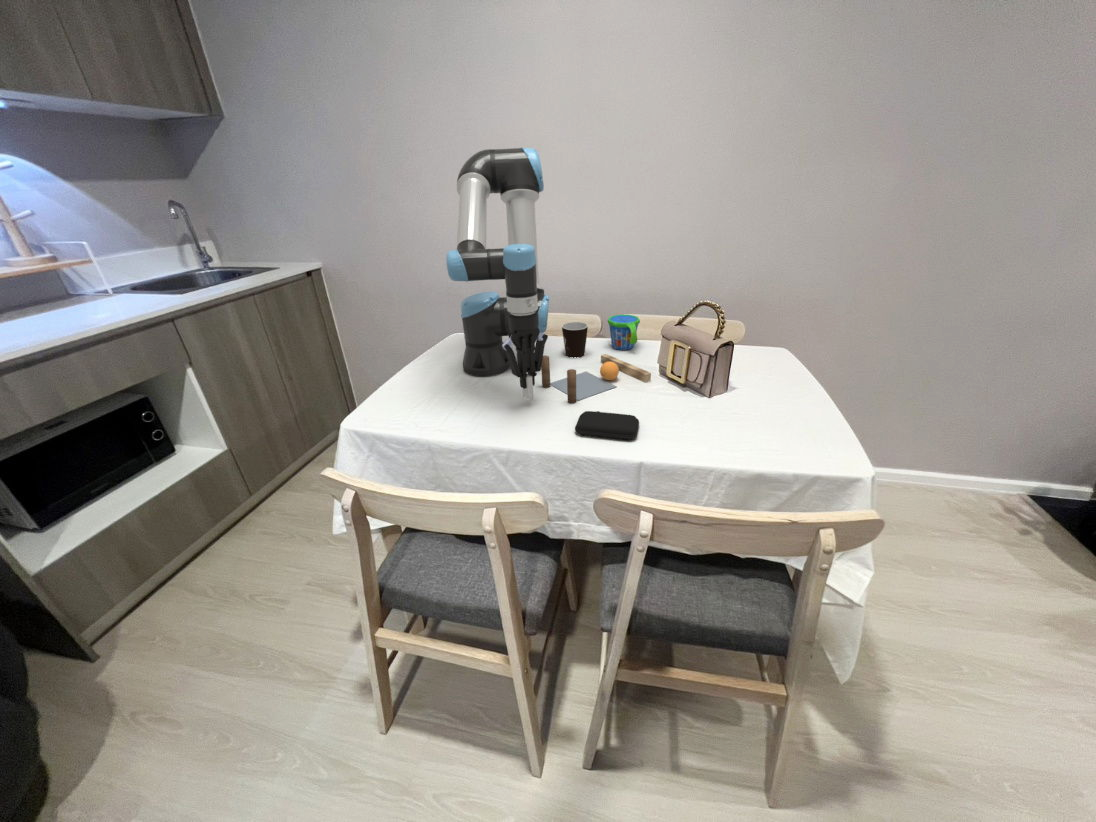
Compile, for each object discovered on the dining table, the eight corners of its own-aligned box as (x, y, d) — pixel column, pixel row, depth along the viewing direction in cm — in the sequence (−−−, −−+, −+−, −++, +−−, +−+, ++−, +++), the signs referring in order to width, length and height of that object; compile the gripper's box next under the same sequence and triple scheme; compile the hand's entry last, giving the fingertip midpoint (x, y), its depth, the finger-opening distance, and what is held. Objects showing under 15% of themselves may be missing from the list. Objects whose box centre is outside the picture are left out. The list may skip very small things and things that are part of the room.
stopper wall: (600, 362, 149) (601, 355, 147) (605, 360, 150) (605, 353, 148) (645, 382, 134) (646, 374, 133) (650, 380, 135) (651, 372, 134)
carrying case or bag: (639, 421, 115) (582, 416, 118) (640, 411, 113) (582, 405, 117) (635, 444, 106) (573, 437, 109) (636, 433, 104) (573, 426, 108)
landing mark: (548, 384, 135) (548, 383, 135) (586, 371, 142) (586, 371, 142) (578, 400, 125) (578, 400, 125) (616, 387, 132) (616, 386, 132)
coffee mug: (586, 359, 151) (586, 330, 146) (560, 358, 153) (559, 329, 148) (590, 347, 161) (590, 319, 156) (566, 346, 163) (565, 318, 158)
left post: (540, 386, 134) (539, 357, 130) (547, 383, 136) (546, 355, 131) (545, 388, 133) (543, 359, 128) (552, 386, 134) (550, 357, 130)
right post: (565, 401, 125) (565, 370, 121) (572, 398, 126) (572, 368, 122) (571, 404, 124) (570, 373, 119) (578, 401, 125) (578, 371, 120)
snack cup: (601, 341, 166) (601, 313, 161) (628, 338, 168) (629, 310, 163) (615, 356, 153) (617, 326, 148) (645, 353, 154) (647, 323, 150)
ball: (612, 372, 140) (597, 380, 138) (609, 356, 137) (594, 363, 135) (623, 377, 136) (609, 385, 134) (621, 361, 133) (606, 368, 131)
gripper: (507, 320, 107) (514, 409, 118) (553, 309, 113) (556, 395, 124) (492, 313, 112) (500, 399, 123) (536, 303, 119) (540, 386, 130)
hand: (528, 397), depth 124 cm, fingers closed
